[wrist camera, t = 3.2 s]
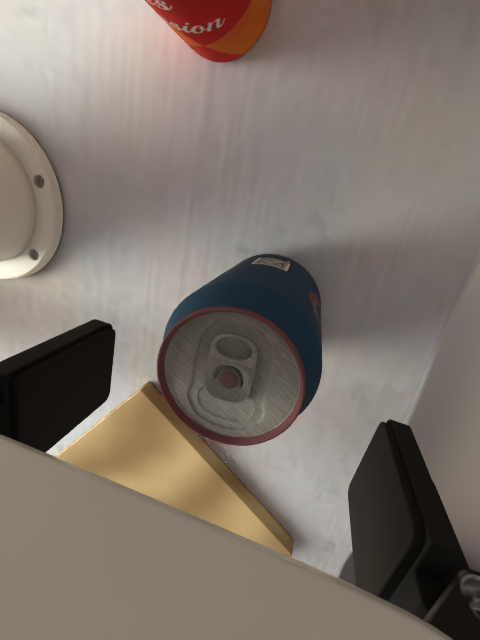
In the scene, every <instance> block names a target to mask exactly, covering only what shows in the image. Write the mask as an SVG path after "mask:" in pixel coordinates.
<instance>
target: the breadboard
mask: <svg viewBox="0 0 480 640" xmlns="http://www.w3.org/2000/svg"><path fill="white" fill-rule="evenodd" d="M55 457H57V458H59V459H61V460H64V461H66V462H69V463H71V464H73V465H76V466H78V467H81V468H83V469H85V470H88V471H90V472H93V473H95V474H97V475H100V476H102V477H105V478H107V479H109V480H112V481H114V482H116V483H119V484H121V485H123V486H126V487H128V488H131V489H133V490H135V491H138V492H140V493H142V494H145V495H147V496H149V497H152V498H154V499H156V500H159V501H161V502H164V503H166V504H168V505H171V506H173V507H175V508H178V509H180V510H182V511H185V512H187V513H189V514H192V515H194V516H196V517H199V518H201V519H203V520H206V521H208V522H210V523H213V524H215V525H217V526H220V527H222V528H224V529H227V530H229V531H231V532H234V533H236V534H238V535H241V536H243V537H245V538H247V539H250V540H252V541H254V542H257V543H259V544H261V545H264V546H266V547H268V548H271V549H273V550H275V551H278V552H280V553H282V554H284V555H287V556H291V555H292V550H293V539H292V538H291V536H290V535H289V534H288V533H287V532H286V531H285V530H284V529H283V528H282V527H281V526H280V524H279V523H278V522H277V521H276V520H275V519H274V518H273V517H272V516H271V515H270V513H269V512H268V511H267V510H266V509H265V508H264V507H263V506H262V505H261V504H260V502H259V501H258V500H257V499H256V498H255V497H254V496H253V495H252V494H251V493H250V491H249V490H248V489H247V488H246V487H245V486H244V485H243V484H242V483H241V482H240V480H239V479H238V478H237V477H236V476H235V475H234V474H233V473H232V472H231V471H230V470H229V468H228V467H227V466H226V465H225V464H224V463H223V462H222V461H221V460H220V459H219V457H218V456H217V455H216V454H215V453H214V452H213V451H212V450H211V449H210V448H209V446H208V445H207V444H206V443H205V442H204V441H203V440H202V439H201V438H200V437H199V435H198V434H197V433H196V432H194V431H193V430H191V429H190V428H189V427H187V426H186V425H185V424H184V423H183V422H182V421H181V420H180V419H179V418H178V417H177V416H176V415H175V414H174V413H173V411H172V410H171V409H170V407H169V406H168V404H167V402H166V400H165V399H164V397H163V396H162V395H161V394H160V393H159V392H158V390H157V389H156V388H155V387H154V386H153V385H152V384H151V383H150V382H147V383H146V384H145V385H144V386H142V387H141V388H140V389H139V390H137V391H136V392H135V393H134V394H132V395H131V396H130V397H129V398H127V399H126V400H125V401H124V402H122V403H121V404H120V405H119V406H118V407H116V408H115V409H114V410H113V411H111V412H110V413H109V414H108V415H106V416H105V417H104V418H103V419H101V420H100V421H99V422H98V423H96V424H95V425H94V426H93V427H91V428H90V429H89V430H88V431H86V432H85V433H84V434H83V435H82V436H80V437H79V438H78V439H77V440H75V441H74V442H73V443H72V444H70V445H69V446H68V447H67V448H65V449H64V450H63V451H62V452H60V453H59V454H58V455H57V456H55Z"/></svg>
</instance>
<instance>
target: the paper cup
mask: <svg viewBox="0 0 480 640" xmlns="http://www.w3.org/2000/svg"><path fill="white" fill-rule="evenodd" d="M145 1H146V2H147V3H148V4H149V5H150V6H151V7H152V8H153V9H154V10H155V11H156V13H157V14H158V15H159V16H160V17H161V18H162V19H163V20H164V21H165V22H166V23H167V24H168V25H169V26H170V27H171V28H172V29H173V30H174V31H175V32H176V33H177V34H178V35H179V36H180V37H181V39H183V40H184V41H185V42H186V43H187V44H188V45H189V46H190V47H191V48H192V49H193V50H194V51H195V52H196V53H198V54H199V55H200V56H202V57H204V58H206V59H208V60H211V61H215V62H228V61H232V60H235V59H237V58H239V57H241V56H242V55H244V54H245V53H246V52H248V51H249V50H250V49H251V48H252V47H253V46H254V45H255V43H256V42H257V41H258V39H259V38H260V36H261V35H262V33H263V31H264V29H265V26H266V24H267V21H268V18H269V14H270V9H271V2H272V0H145Z"/></svg>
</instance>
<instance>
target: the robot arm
mask: <svg viewBox="0 0 480 640" xmlns="http://www.w3.org/2000/svg"><path fill="white" fill-rule="evenodd" d="M62 226H63V205H62V198H61V193H60V189H59V184H58V181H57V179H56V176H55V173H54V171H53V168H52V166H51V164H50V162H49V160H48V158H47V156H46V155H45V153H44V151H43V150H42V148H41V147H40V146H39V144H38V143H37V142H36V140H35V139H34V137H33V136H32V135H31V134H30V133H29V132H28V131H27V130H26V129H25V128H24V127H23V126H22V125H21V124H19V123H18V122H16V121H15V120H14V119H12V118H11V117H9V116H8V115H6V114H4V113H1V112H0V279H9V280H10V279H15V278H21V277H25V276H28V275H31V274H34V273H36V272H37V271H39V270H40V269H42V268H43V267H44V266H45V265H46V264H47V263H48V262H49V261H50V260H51V258H52V257H53V255H54V253H55V251H56V249H57V247H58V244H59V241H60V238H61V234H62ZM114 344H115V330H113V328H112V325H111V324H108V323H105V322H102V321H99V320H96V319H94V320H91V321H89V322H87V323H85V324H83V325H80V326H78V327H76V328H74V329H72V330H69V331H67V332H65V333H63V334H61V335H58V336H56V337H54V338H52V339H49V340H47V341H45V342H43V343H41V344H38V345H36V346H34V347H32V348H30V349H27V350H25V351H23V352H21V353H18V354H16V355H14V356H12V357H10V358H7V359H5V360H3V361H1V362H0V640H480V572H476V571H473V570H470V569H469V567H468V564H467V562H466V559H465V557H464V554H463V552H462V550H461V547H460V545H459V542H458V540H457V537H456V535H455V533H454V530H453V528H452V525H451V523H450V520H449V519H448V516H447V513H446V511H445V508H444V506H443V503H442V501H441V499H440V496H439V494H438V491H437V489H436V486H435V485H434V483H433V481H432V479H431V476H430V474H429V471H428V469H427V467H426V464H425V462H424V459H423V457H422V455H421V452H420V449H419V447H418V445H417V442H416V440H415V437H414V435H413V432H412V430H411V428H410V426H408V425H405V424H402V423H399V422H396V421H393V420H388V421H387V422H386V423H385V422H381V423H380V424H379V426H378V428H377V430H376V432H375V434H374V436H373V438H372V440H371V442H370V444H369V446H368V448H367V450H366V452H365V454H364V456H363V458H362V460H361V462H360V464H359V466H358V469H357V471H356V473H355V475H354V477H353V479H352V481H351V483H350V486H349V490H348V501H349V513H350V524H351V536H352V548H353V559H354V570H355V582H356V586H354V585H352V584H350V583H348V582H345V581H343V580H341V579H339V578H336V577H334V576H332V575H330V574H327V573H325V572H323V571H321V570H318V569H316V568H314V567H312V566H310V565H307V564H305V563H303V562H301V561H298V560H296V559H294V558H291V557H289V556H287V555H284V554H282V553H280V552H278V551H275V550H273V549H271V548H268V547H266V546H264V545H261V544H259V543H257V542H254V541H252V540H250V539H247V538H245V537H243V536H241V535H238V534H236V533H234V532H231V531H229V530H227V529H224V528H222V527H220V526H217V525H215V524H213V523H210V522H208V521H206V520H203V519H201V518H199V517H196V516H194V515H192V514H189V513H187V512H185V511H182V510H180V509H178V508H175V507H173V506H171V505H168V504H166V503H164V502H161V501H159V500H156V499H154V498H152V497H149V496H147V495H145V494H142V493H140V492H138V491H135V490H133V489H131V488H128V487H126V486H123V485H121V484H119V483H116V482H114V481H112V480H109V479H107V478H105V477H102V476H100V475H97V474H95V473H93V472H90V471H88V470H85V469H83V468H81V467H78V466H76V465H73V464H71V463H69V462H66V461H64V460H61V459H59V458H57V457H54V456H52V455H49V454H47V453H46V452H47V451H48V450H49V449H50V448H51V447H53V446H54V445H55V444H56V443H57V442H58V441H60V440H61V439H62V438H63V437H64V436H65V435H67V434H68V433H69V432H70V431H71V430H73V429H74V428H75V427H76V426H77V425H78V424H80V423H81V422H82V421H83V420H84V419H85V418H87V417H88V416H89V415H90V414H91V413H92V412H94V411H95V410H96V409H97V408H98V407H100V406H101V405H102V404H103V403H104V402H105V401H106V400H107V398H108V396H109V393H110V385H111V375H112V365H113V355H114Z"/></svg>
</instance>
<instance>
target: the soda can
mask: <svg viewBox="0 0 480 640" xmlns="http://www.w3.org/2000/svg"><path fill="white" fill-rule="evenodd" d="M321 373H322V336H321V300H320V294H319V290H318V288H317V285H316V283H315V281H314V279H313V278H312V276H311V275H310V274H309V273H308V271H307V270H306V269H305V268H303V267H302V266H301V265H300V264H298V263H297V262H295V261H293V260H292V259H289V258H287V257H284V256H280V255H275V254H262V255H256V256H253V257H250V258H248V259H245V260H244V261H242V262H240V263H239V264H237V265H236V266H234V267H232V268H231V269H229V270H228V271H226V272H225V273H223V274H222V275H220V276H218V277H217V278H215V279H214V280H212V281H211V282H209V283H208V284H206V285H204V286H203V287H201V288H200V289H198V290H197V291H195V292H194V293H192V294H191V295H189V296H188V297H187V298H185V299H184V300H183V301H182V302H181V303H180V304H179V305H178V307H177V308H176V309H175V310H174V312H173V314H172V315H171V317H170V319H169V321H168V323H167V326H166V329H165V333H164V338H163V342H162V345H161V347H160V350H159V354H158V360H157V375H158V382H159V386H160V389H161V392H162V394H163V396H164V399H165V400H166V402H167V404H168V406H169V407H170V409H171V410H172V411H173V413H174V414H175V415H176V416H177V417H178V418H179V419H180V420H181V421H182V422H183V423H184V424H185V425H186V426H187V427H189V428H190V429H191V430H193V431H194V432H196V433H198V434H199V435H201V436H203V437H205V438H207V439H210V440H212V441H215V442H218V443H222V444H227V445H236V446H247V445H255V444H259V443H263V442H266V441H268V440H271V439H273V438H275V437H276V436H278V435H280V434H281V433H283V432H284V431H285V430H286V429H288V428H289V427H290V426H291V424H292V423H293V422H294V421H295V419H296V418H297V416H298V415H299V414H300V413H302V412H303V411H304V410H305V409H306V407H307V406H308V405H309V404H310V402H311V401H312V399H313V397H314V396H315V393H316V391H317V389H318V386H319V383H320V379H321Z"/></svg>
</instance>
